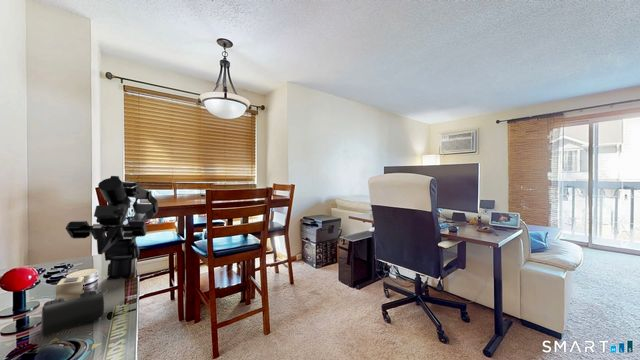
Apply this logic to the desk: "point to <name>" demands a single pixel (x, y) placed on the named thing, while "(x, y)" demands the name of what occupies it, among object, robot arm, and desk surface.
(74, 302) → the end cap
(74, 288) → the beech block
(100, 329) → the desk surface
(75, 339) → the desk surface
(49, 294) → the desk surface
